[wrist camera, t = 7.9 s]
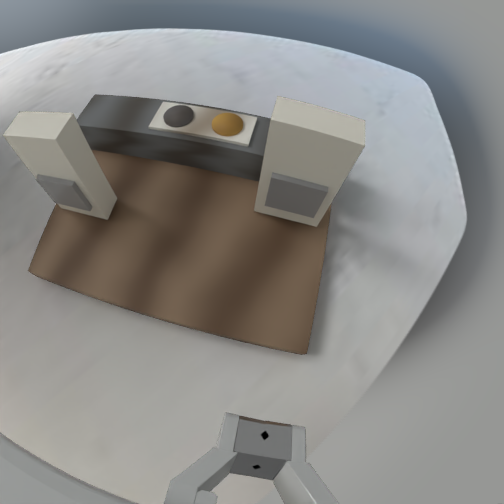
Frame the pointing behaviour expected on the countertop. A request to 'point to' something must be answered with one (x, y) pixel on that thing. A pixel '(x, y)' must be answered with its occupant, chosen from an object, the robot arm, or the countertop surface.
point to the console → (187, 226)
